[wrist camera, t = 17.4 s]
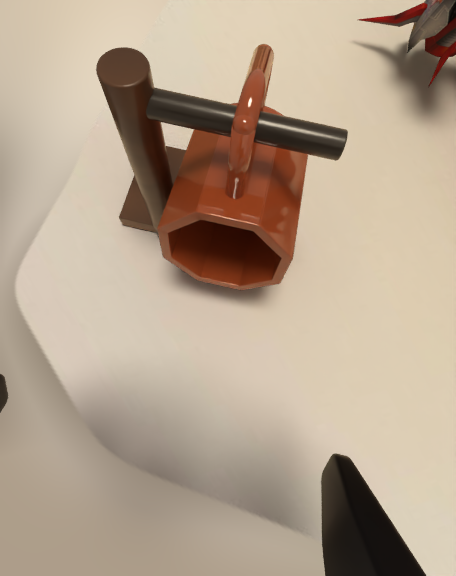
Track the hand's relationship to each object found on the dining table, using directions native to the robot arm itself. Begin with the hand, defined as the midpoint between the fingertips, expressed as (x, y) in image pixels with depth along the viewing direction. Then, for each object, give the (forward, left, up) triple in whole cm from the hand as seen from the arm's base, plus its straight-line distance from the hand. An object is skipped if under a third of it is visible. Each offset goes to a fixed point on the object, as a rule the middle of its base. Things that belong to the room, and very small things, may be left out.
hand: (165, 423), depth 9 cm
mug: (+15, +6, -6) cm, 17 cm away
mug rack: (+13, +7, -14) cm, 20 cm away
